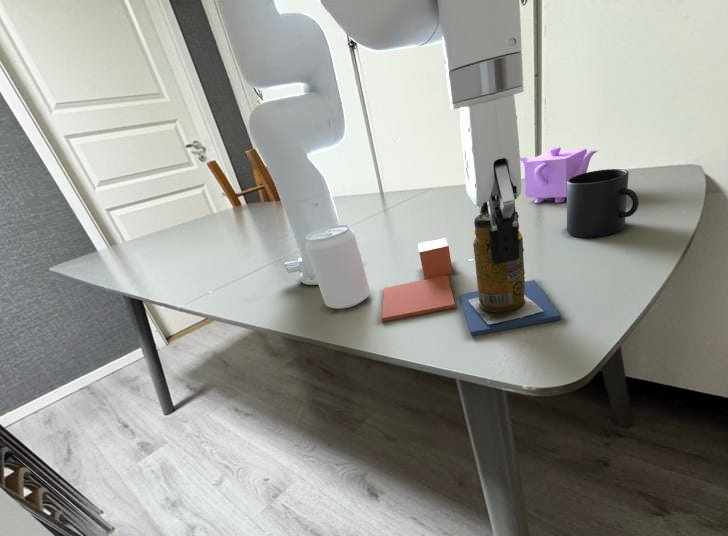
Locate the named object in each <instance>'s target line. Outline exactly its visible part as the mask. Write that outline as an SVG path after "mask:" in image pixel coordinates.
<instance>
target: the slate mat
mask: <svg viewBox="0 0 728 536" xmlns="http://www.w3.org/2000/svg"><path fill="white" fill-rule="evenodd" d="M524 291H525V293H524V295H525V296H526V297H527V298H529V299H530V300H531V301H533V302H534V303H535V304H537V305H538V307H540V308H541V309H542V310H543V311H542V312H538V313H535V314H532V315H527V316H524V317H522V318H516V319H513V320H509V321H504V322H499V323H493V324H487V323H486V321H485V320H484V319H483V318H482V317H481V316H480V314H479V313H478V312H477V311H476V310H475V309H474V307H473V306H472V305H471V304H470V302H469V301H468V300H470V299H474V298H478V297H479V295H478V290H476V291H470V292H465V293H461V294H459V299H460V302H461V305H462V309H463V312H464V316H465V319H466V323H467V326H468V330H469V332H470V335H471V337H474V336H480V335H485V334H489V333H495V332H500V331H506V330H513V329H517V328H523V327H527V326H534V325H538V324H539V325H540V324H545V323H550V322H556V321H560V320H561V319H562V316H561V314H560V312H559V311H558V310H557V308H556V307H555V306H554V304H553V303H552V302H551V300H550V299H549V298H548V297H547V296H546V294H545V292H544V291H543V290H542V288H541V287H540V286H539V285H538V284H537V281H536V280H534V279H532V280H526V281H525V290H524ZM561 321H562V320H561Z"/></svg>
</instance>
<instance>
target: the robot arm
mask: <svg viewBox="0 0 728 536" xmlns="http://www.w3.org/2000/svg"><path fill="white" fill-rule="evenodd" d="M318 1H319V2H320V4H321V5H322V7H323V8H324V10H325V11H326V12H327V13H328V14H329V15H330V17H331V18H332V19H333V20H334V21H335V23H336V24H337V25H338V26H339V27H340V29H342V31H343V32H344V34H346V35H347V36H348V38H350V39H351V40H352V41H353V42H354V43H356V44H357V45H359V46H360V47H362V48H363V49H365V50H368V51H371V52H375V53H383V52H390V51H396V50H401V49H402V50H403V49H409V48H420V47H426V46H433V45H438V44H441V43H442V47H443V57H444V62H445V63H444V64H445V70H446V79H447V85H448V86H447V88H448V95H449V101H450V110H455V109H460V132H461V145H462V154H463V155H462V156H463V164H464V165H463V166H464V176H465V188H466V193H467V196H468V197H469V198H470V200H471V202H473V204H474V205H475V206H476V207H478V210H479V215H480V214H482V213H485V212H488V211H489V217H490V224H491V229H492V230H489V238H490V248H491V258H492V262H493V263H494V264H498V263H503V262H508V261H513V260H517V259H519V257H520V255H519V238H518V225H517V217H516V212H517V211H516V200H517V199H518V198H519V197H520V195H521V193H522V170H521V168H522V167H521V161H520V157H521V152H520V139H519V129H518V115H517V110H516V108H517V107H516V99H515V95H517V94H522V93H524V92H525V89H524V71H523V53H522V51H523V49H522V48H523V47H522V26H521V25H522V24H521V4H520V2H521V1H520V0H318ZM216 3H217V6H218V9H219V13H220V15H221V18H222V22H223V25H224V28H225V30H226V34H227V37H228V39H229V43H230V46H231V48H232V52H233V54H234V57H235V61H236V63H237V66H238V69H239V71H240V73H241V75H242V77H243V79H244V81H245V82H246V83H247V85H249V86H250V87H252V88H253V89H256V90H262V91H263V90H274V89H281V88H286V87H292V86H298V85H300V86H301V89H302V92H303V93H298V94H291V95H286V96H281V97H276V98H270V99H268V100H265V101H262V102H261V103H259V104H257V105H256V106H255V107H254V108H253V110H251V113H250V115H249V119H248V127H249V132H250V135H251V136H250V137H251V138H252V141H253V143H254V145H255V147H256V149H257V151H258V152H259V155H260V156H261V158H262V161H263V162H264V164H265V166H266V168H267V171H268V172H269V174H270V176H271V178H272V182H273V183H274V186H275V189H276V192H277V194H278V197H279V200H280V202H281V203H280V204H281V205H282V208H283V210H284V211H283V212H284V213H285V216H286V219H287V222H288V225H289V228H290V230H291V233H292V236H293V239H294V241H295V244H296V247H297V250H298V253H299V255H300V257H299V258H298V259H297V260H295V261H288V262H284V263H283V266H284V267H283V268H284V270H285V271H286V272H287V273H288V274H293V273H297V272H299V273H301V274H300V275H299V278H300V281H301V282H302V284H303V285H308V286H317V285H318V282H317V279H316V276H315V273H314V270H313V267H312V264H311V261H310V259H309V256H308V253H307V250H306V242H307V240H306V237H307V236H308V235H309V234H311V233H313V232H315V231H317V230H320V229H323V228H326V227H330V226H335V225H341V223H340V220H339V217H338V213H337V208H336V205H335V202H334V199H333V195H332V192H331V188H330V186H329V182H328V180H327V177H326V176H325V174H324V173H323V171H322V170H321V169H320V168H319V166H317V165H316V164H315V162H313V160H312V159H310V156H312V155H315V154H318V153H322V152H325V151H328V150H331V149H334V148H336V147H338V146H339V145H341V143H343V141H344V139H345V137H346V134H347V120H346V113H345V108H344V103H343V99H342V93H341V89H340V85H339V79H338V76H337V75H338V74H337V71H336V67H335V66H336V65H335V61H334V57H333V52H332V48H331V45H330V42H329V39H328V37H327V34H326V33H325V31H324V29H323V27H322V25H321V24H320V23H319V21H318V20H317V19H316V18H315V17H313V16H311V15H310V14H307V13H304V12H287V13H281V11H280V10H279V8H278V5H277V3H276V0H216ZM495 210H497V212H496V215H495ZM318 286H319V285H318Z"/></svg>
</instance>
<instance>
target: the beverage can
mask: <svg viewBox="0 0 728 536" xmlns="http://www.w3.org/2000/svg"><path fill="white" fill-rule="evenodd" d="M306 240H307V242H306V250H307V253H308V256H309V259H310V261H311V264H312V267H313V270H314V273H315V276H316V279H317V282H318V287H319V291H320V294H321V296H322V299H323V302H324V304H325V306H326V307H327V308H331V309H337V310H339V309H340V310H342V309H347V308H351V307H355V306H357V305H359V304H361V303H363V302H364V301H365V300H366V299H367V298H368V297H369V296H370V294H371V288H370V284H369V281H368V278H367V274H366V270H365V267H364V263H363V259H362V255H361V252H360V248H359V244H358V241H357V236H356V234H355V232H354V231H353V230H352V229H351V227H350V225H349V224H340V225H335V226H330V227H326V228H323V229H320V230H317V231H315V232H313V233H311V234H309V235H308V236H307V237H306Z"/></svg>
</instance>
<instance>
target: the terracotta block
mask: <svg viewBox="0 0 728 536" xmlns="http://www.w3.org/2000/svg"><path fill="white" fill-rule="evenodd" d="M418 253H419V258H420V263H421V267H422V268H421V269H422V273H423V274H422V275H423V280H426V279H430V278H435V277H440V276H445V275H448V276H450V275H454V272H453V266H452V265H453V264H452V259H451V253H450V246H449V243H448V240H447V237H442V238H438V239H434V240H429V241H424V242H420V243H419V242H418Z"/></svg>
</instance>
